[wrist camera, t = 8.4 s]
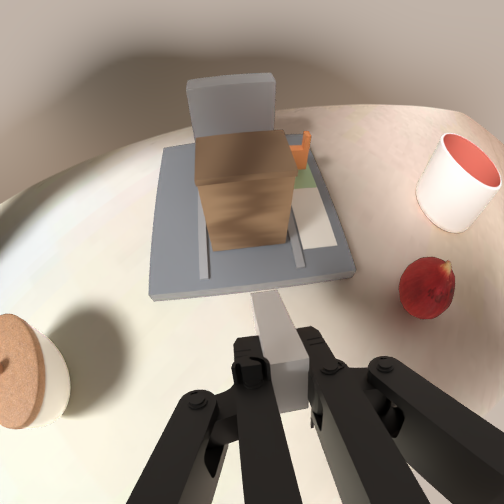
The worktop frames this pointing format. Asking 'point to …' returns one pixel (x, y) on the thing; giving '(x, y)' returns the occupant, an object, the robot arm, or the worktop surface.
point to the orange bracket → (301, 151)
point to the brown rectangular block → (245, 187)
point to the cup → (457, 184)
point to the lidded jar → (30, 376)
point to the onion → (427, 287)
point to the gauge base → (193, 221)
